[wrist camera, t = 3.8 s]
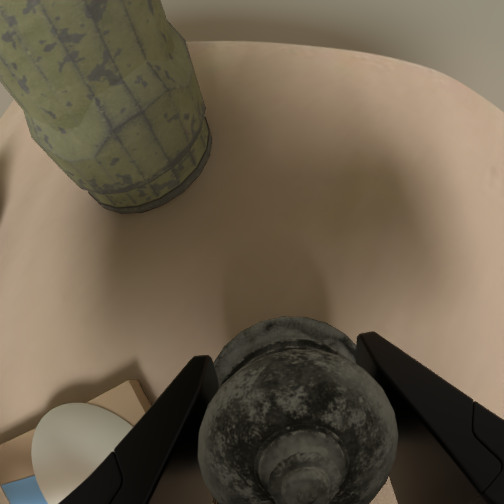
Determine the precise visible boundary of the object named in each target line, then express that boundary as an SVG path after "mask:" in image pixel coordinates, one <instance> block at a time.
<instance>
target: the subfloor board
mask: <svg viewBox="0 0 504 504" xmlns="http://www.w3.org/2000/svg"><path fill="white" fill-rule="evenodd" d="M150 407H151V405H150V403H149V401H148V399H147V397H146V395H145V393H144V392H143V390H142V388H141V386H140V384H139V382H138V380H127V381H126V382H124V383H122V384H120V385H118V386H116V387H115V388H113V389H111V390H109V391H107V392H105V393H103V394H101V395H100V396H98V397H96V398H94V399H92V400H90V401H88V402H86V403H68V404H63V405H60V406H57V407H55V408H53V409H52V410H50V411H49V412H48V413H46V414H45V415H44V416H43V418H42V419H41V420H40V422H39V423H38V425H37V427H36V428H35V429H33V430H31V431H28V432H26V433H24V434H22V435H20V436H18V437H16V438H14V439H12V440H9V441H7V442H5V443H3V444H1V445H0V486H1V488H2V490H3V492H4V494H5V496H6V498H7V500H8V501H9V503H10V504H58V503H59V502H60V501H62V500H63V499H64V498H65V497H66V496H67V495H69V494H70V493H71V492H72V491H73V490H74V489H76V488H77V487H78V486H79V485H80V484H81V483H82V482H83V481H84V480H85V479H86V478H87V477H88V476H89V475H90V474H91V473H92V472H93V471H94V470H95V469H96V468H97V467H98V466H99V465H100V464H101V463H102V462H103V461H104V459H105V458H106V457H107V456H108V455H109V454H110V453H111V452H112V451H113V452H114V448H115V447H116V446H117V445H118V444H119V443H120V441H121V440H122V439H123V438H124V437H125V436H126V435H127V433H128V432H129V431H130V430H131V429H132V428H133V427H134V425H135V424H136V423H137V422H138V421H139V420H140V419H141V417H142V416H143V415H144V414H145V413H146V412H147V410H148V409H149V408H150ZM213 504H214V503H213Z"/></svg>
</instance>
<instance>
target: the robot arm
mask: <svg viewBox="0 0 504 504" xmlns="http://www.w3.org/2000/svg"><path fill="white" fill-rule="evenodd" d="M356 364H357V365H359V366H360V367H362V368H364V369H365V370H366V371H367V372H368V373H369V374H370V375H371V376H372V377H373V379H374V380H375V381H376V382H377V383H378V384H379V385H380V386H381V387H382V389H383V390H384V392H385V394H386V396H387V398H388V400H389V402H390V404H391V406H392V408H393V410H394V413H395V419H396V424H397V430H398V443H397V451H396V459H395V462H394V464H393V467H392V469H391V472H390V474H389V478H390V481H391V484H392V487H393V490H394V493H395V496H396V499H397V502H398V504H504V420H503V419H502V418H500V417H499V416H497V415H496V414H494V413H492V412H491V411H489V410H488V409H486V408H485V407H483V406H482V405H480V404H479V403H478V402H476V401H475V402H473V399H472V398H470V397H469V396H467V395H466V394H464V393H463V392H461V391H460V390H459V389H457V388H456V387H454V386H453V385H451V384H450V383H448V382H447V381H445V380H444V379H443V378H441V377H440V376H438V375H437V374H435V373H434V372H432V371H431V370H429V369H428V368H427V367H425V366H424V365H422V364H421V363H419V362H418V361H416V360H415V359H413V358H412V357H411V356H409V355H408V354H406V353H405V352H403V351H402V350H400V349H399V348H397V347H396V346H395V345H393V344H392V343H390V342H389V341H387V340H386V339H384V338H383V337H381V336H380V335H379V334H377V333H375V332H366V333H361V334H359V335H358V337H357V345H356ZM218 390H219V382H218V377H217V374H216V371H215V367H214V364H213V361H212V358H211V357H210V356H209V355H201V356H194V357H193V358H192V359H191V360H190V361H189V362H188V363H187V365H186V366H185V367H184V368H183V369H182V371H181V372H180V373H179V374H178V375H177V376H176V378H175V379H174V380H173V381H172V382H171V384H170V385H169V386H168V387H167V388H166V389H165V391H164V392H163V393H162V394H161V395H160V396H159V398H158V399H157V400H156V401H155V402H154V403H153V405H152V406H151V407H150V408H149V409H148V410H147V412H146V413H145V414H144V415H143V416H142V417H141V419H140V420H139V421H138V422H137V423H136V424H135V425H134V427H133V428H132V429H131V430H130V431H129V432H128V433H127V435H126V436H125V437H124V438H123V439H122V440H121V441H120V443H119V444H118V445H117V446H116V447H115V448H114V452H113V451H112V452H111V453H110V454H109V455H108V456H107V457H106V458H105V459H104V461H103V462H102V463H101V464H100V465H99V466H98V467H97V468H96V469H95V470H94V471H93V472H92V473H91V474H90V475H89V476H88V477H87V478H86V479H85V480H84V481H83V482H82V483H81V484H80V485H79V486H78V487H77V488H76V489H74V490H73V491H72V492H71V493H70V494H69V495H67V496H66V497H65V498H64V499H63V500H62V501H60V502H59V503H58V504H213V496H212V494H211V493H210V491H209V489H208V487H207V486H206V484H205V482H204V480H203V477H202V473H201V469H200V465H199V461H198V440H199V430H200V426H201V424H202V421H203V418H204V415H205V412H206V409H207V406H208V404H209V403H210V402H211V400H212V399H213V397H214V396H215V394H216V393H217V391H218Z"/></svg>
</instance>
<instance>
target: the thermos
mask: <svg viewBox="0 0 504 504" xmlns="http://www.w3.org/2000/svg"><path fill="white" fill-rule="evenodd" d="M0 82H1V83H2V84H3V85H4V87H5V88H6V89H7V90H8V92H9V93H10V94H11V96H12V97H13V98H14V99H15V101H16V102H17V103H18V104H19V105H20V107H21V108H22V109H23V111H24V114H25V118H26V121H27V124H28V127H29V131H30V134H31V137H32V138H33V139H34V140H35V142H36V143H37V144H38V145H39V146H40V147H41V148H42V149H43V150H44V151H45V152H46V153H47V155H48V156H49V157H50V158H51V159H52V160H53V161H54V162H55V163H56V164H57V165H58V166H59V167H60V168H61V169H62V170H63V171H64V172H65V173H66V174H67V176H68V177H69V178H70V179H71V180H73V181H74V182H75V183H76V184H77V185H78V186H79V187H80V188H81V189H84V190H88V193H89V194H90V195H91V196H92V197H93V198H94V199H95V200H96V201H97V202H98V203H99V204H100V205H102V206H103V207H104V208H105V209H108V210H111V211H115V212H118V213H121V214H123V213H141V212H145V211H147V210H150V209H153V208H156V207H159V206H162V205H164V204H166V203H167V202H169V201H170V200H172V199H173V198H175V197H176V196H178V195H179V194H181V193H182V192H184V191H185V190H186V189H187V188H188V187H189V186H190V185H191V183H192V182H193V181H194V180H195V179H196V178H197V177H198V176H199V175H200V173H201V172H202V170H203V168H204V166H205V164H206V162H207V160H208V158H209V156H210V149H211V142H212V137H211V134H210V130H209V127H208V124H207V120H206V117H205V116H204V114H205V109H206V108H205V105H204V102H203V98H202V95H201V92H200V88H199V85H198V82H197V78H196V75H195V72H194V68H193V65H192V62H191V58H190V55H189V52H188V48H187V45H186V42H185V40H184V39H183V37H182V36H181V35H180V34H179V33H178V32H177V31H176V30H175V28H174V27H173V26H172V25H171V24H170V23H169V22H168V21H167V19H166V16H165V13H164V10H163V7H162V4H161V1H160V0H0Z"/></svg>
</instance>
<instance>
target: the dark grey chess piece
mask: <svg viewBox="0 0 504 504" xmlns="http://www.w3.org/2000/svg"><path fill="white" fill-rule="evenodd" d="M213 364H214V367H215V371H216V374H217V377H218V382H219V390H218V391H217V393H216V394H215V396H214V397H213V399H212V400H211V402H210V403H209V404H208V406H207V409H206V412H205V415H204V418H203V421H202V424H201V426H200V430H199V440H198V461H199V465H200V469H201V473H202V477H203V480H204V482H205V484H206V486H207V487H208V489H209V491H210V493H211V494H212V496H213V498H214V499H215V501H216V502H217V503H219V504H369V503H370V502H371V501H372V500H373V499H374V497H375V496H376V495H377V493H378V492H379V491H380V489H381V488H382V487H383V485H384V484H385V483H386V481H387V479H388V476H389V474H390V472H391V469H392V467H393V464H394V462H395V459H396V451H397V443H398V430H397V424H396V419H395V413H394V410H393V408H392V406H391V404H390V402H389V400H388V398H387V396H386V394H385V392H384V390H383V389H382V387H381V386H380V385H379V384H378V383H377V382H376V381H375V380H374V379H373V377H372V376H371V375H370V374H369V373H368V372H367V371H366V370H365V369H364V368H362V367H360V366H359V365H357V364H356V345H355V344H354V343H353V342H352V341H351V340H350V339H349V337H348V336H347V335H346V334H344V333H343V332H341V331H339V330H337V329H336V328H334V327H332V326H331V325H329V324H327V323H324V322H321V321H317V320H314V319H310V318H307V317H279V318H275V319H270V320H266V321H261V322H259V323H257V324H255V325H253V326H252V327H250V328H248V329H246V330H244V331H242V332H240V333H239V334H238V335H237V336H236V337H235V338H234V339H232V340H231V341H230V342H229V343H228V344H227V345H225V347H224V348H223V350H222V351H221V352H220V354H219V355H218V357H217V358H216V360H215V361H214V363H213Z"/></svg>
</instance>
